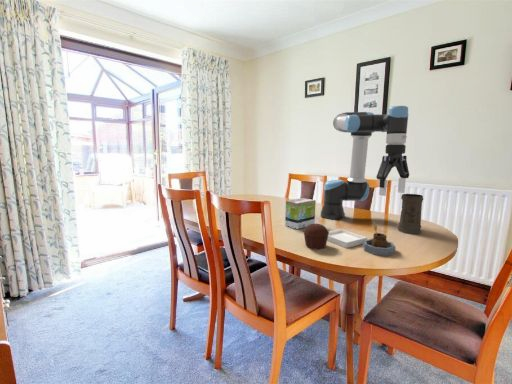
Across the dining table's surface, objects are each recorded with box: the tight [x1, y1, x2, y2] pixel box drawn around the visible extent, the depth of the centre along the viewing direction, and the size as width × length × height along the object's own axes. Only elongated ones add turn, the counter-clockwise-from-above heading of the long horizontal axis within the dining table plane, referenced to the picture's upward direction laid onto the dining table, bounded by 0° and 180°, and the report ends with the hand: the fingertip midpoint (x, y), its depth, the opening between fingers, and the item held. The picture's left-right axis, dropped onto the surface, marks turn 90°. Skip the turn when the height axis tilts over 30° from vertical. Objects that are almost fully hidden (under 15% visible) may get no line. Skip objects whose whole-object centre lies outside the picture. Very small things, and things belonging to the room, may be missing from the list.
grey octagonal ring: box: [362, 238, 396, 257], centre depth 120 cm, size 12×12×3 cm
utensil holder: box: [371, 221, 388, 248], centre depth 119 cm, size 6×6×12 cm
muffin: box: [302, 223, 329, 250], centre depth 124 cm, size 12×11×10 cm
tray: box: [327, 228, 368, 249], centre depth 133 cm, size 16×14×2 cm
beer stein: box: [397, 193, 424, 235], centre depth 148 cm, size 15×11×20 cm
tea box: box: [284, 197, 317, 230], centre depth 157 cm, size 15×10×15 cm
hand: (392, 194), depth 120 cm, fingers open, 13 cm apart
